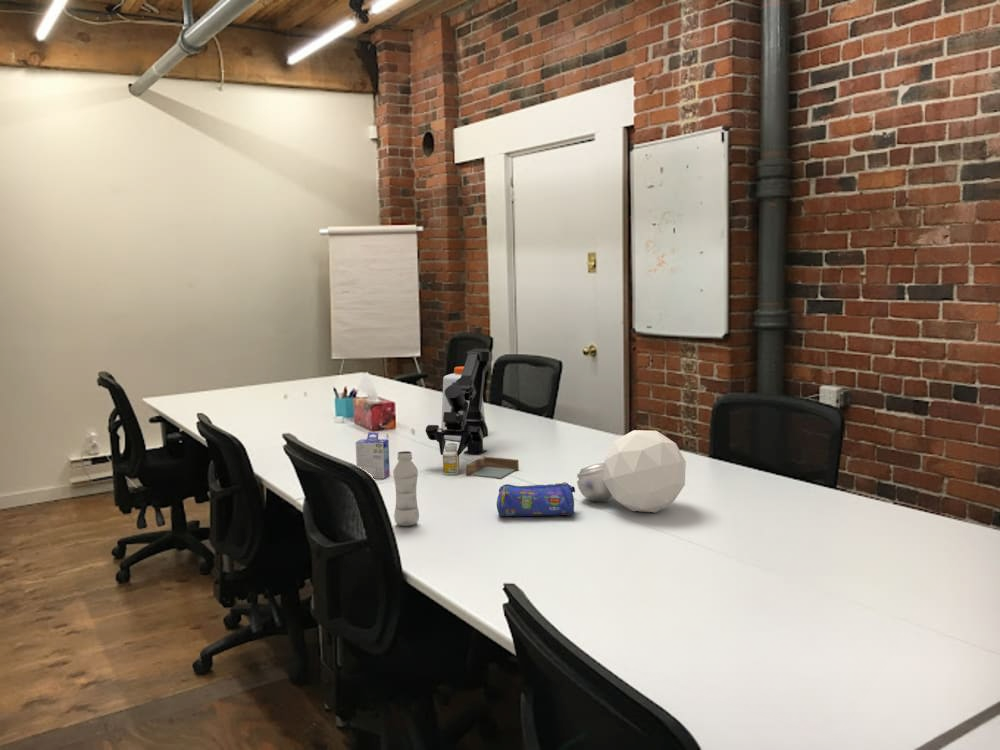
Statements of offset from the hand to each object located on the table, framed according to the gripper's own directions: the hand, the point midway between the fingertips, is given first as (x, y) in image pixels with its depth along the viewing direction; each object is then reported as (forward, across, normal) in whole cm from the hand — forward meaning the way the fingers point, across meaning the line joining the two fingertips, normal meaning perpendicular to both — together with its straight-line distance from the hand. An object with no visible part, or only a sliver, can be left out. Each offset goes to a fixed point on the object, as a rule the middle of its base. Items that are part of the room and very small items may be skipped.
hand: (449, 454), depth 280 cm
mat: (+2, +14, +7) cm, 16 cm away
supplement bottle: (+4, 0, +6) cm, 7 cm away
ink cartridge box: (+10, -24, 0) cm, 26 cm away
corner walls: (+2, +14, +7) cm, 16 cm away
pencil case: (+32, +36, -22) cm, 53 cm away
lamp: (+23, +61, -14) cm, 66 cm away
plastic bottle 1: (+42, +4, -32) cm, 53 cm away
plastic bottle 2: (-34, -11, +44) cm, 56 cm away
